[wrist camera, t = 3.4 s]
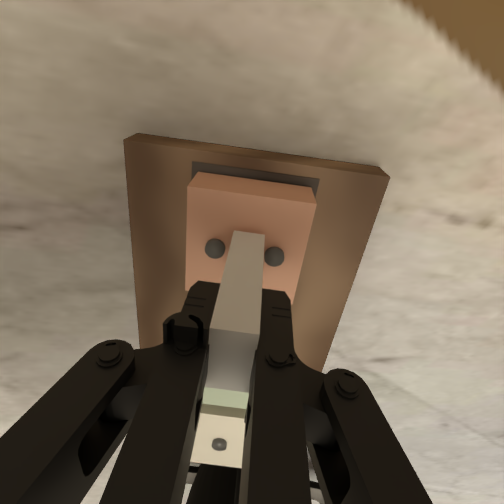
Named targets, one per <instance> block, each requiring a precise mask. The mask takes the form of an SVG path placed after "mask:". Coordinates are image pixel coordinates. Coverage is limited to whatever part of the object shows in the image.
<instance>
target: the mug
mask: <svg viewBox="0 0 504 504" xmlns="http://www.w3.org/2000/svg"><path fill="white" fill-rule="evenodd" d="M241 469H242V468H235V467H227V466H219V465H211V464H203V463H201V465H200V466H199V467H196V466H189V470H188V474H187V479H186V483H188V484H192V487H191V490H190V493H189V496H188V499H187V502H186V504H239V493H240V481H241ZM310 491H311V499H313V500H316V501H318V502H319V503H320V504H325V502H324V499H323V496H322V493H321V489H320V486H319V483H317V482H313V481H310Z"/></svg>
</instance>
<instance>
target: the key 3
mask: <svg viewBox="0 0 504 504" xmlns="http://www.w3.org/2000/svg"><path fill="white" fill-rule="evenodd" d="M316 206H317V203H316V200H315V197H314V194H313V191H312V188H311V187H305V186H298V185H291V184H283V183H276V182H269V181H262V180H255V179H247V178H240V177H233V176H226V175H219V174H212V173H204V172H197V174H196V175H195V176H194V178H193V179H192V181H191V182H190V183H189V185H188V186H187V226H186V274H185V290H186V291H189V289H190V287H191V286H192V285H194V284H195V283H196V282H197V281H198V280H199V281H207V282H214V283H221V280H222V276H223V272H224V268H225V264H226V260H227V256H228V252H229V248H230V244H231V240H232V236H233V232H234V230H235V231H242V232H250V233H257V234H264V235H265V243H264V262H263V281H262V288H264V289H271V290H279V291H285V292H286V294H287V295H288V297H289V298H290V300H291V305H292V304H293V300H294V296H295V292H296V288H297V284H298V280H299V275H300V271H301V267H302V263H303V259H304V255H305V251H306V247H307V243H308V238H309V234H310V230H311V226H312V222H313V218H314V214H315V210H316Z"/></svg>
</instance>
